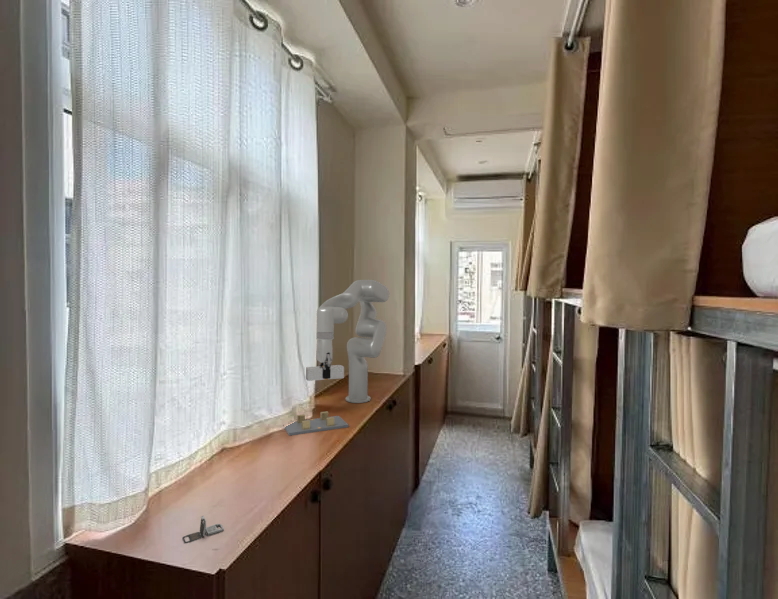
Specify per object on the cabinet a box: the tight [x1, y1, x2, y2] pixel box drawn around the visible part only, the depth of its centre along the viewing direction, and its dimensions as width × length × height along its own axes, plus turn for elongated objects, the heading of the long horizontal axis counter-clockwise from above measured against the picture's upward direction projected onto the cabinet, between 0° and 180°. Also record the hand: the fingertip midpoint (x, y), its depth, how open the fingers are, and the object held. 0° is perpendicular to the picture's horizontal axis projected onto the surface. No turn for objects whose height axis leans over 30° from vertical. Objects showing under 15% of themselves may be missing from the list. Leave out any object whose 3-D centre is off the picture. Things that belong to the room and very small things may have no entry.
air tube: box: [305, 364, 345, 382], centre depth 182 cm, size 5×16×5 cm, turn 115°
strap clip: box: [182, 515, 225, 544], centre depth 96 cm, size 8×3×4 cm, turn 126°
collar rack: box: [284, 411, 350, 436], centre depth 170 cm, size 13×24×4 cm, turn 115°
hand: (324, 376), depth 182 cm, fingers closed on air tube, 5 cm apart
